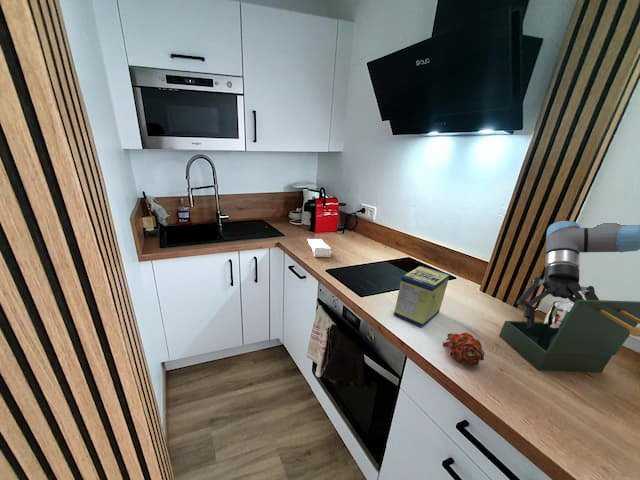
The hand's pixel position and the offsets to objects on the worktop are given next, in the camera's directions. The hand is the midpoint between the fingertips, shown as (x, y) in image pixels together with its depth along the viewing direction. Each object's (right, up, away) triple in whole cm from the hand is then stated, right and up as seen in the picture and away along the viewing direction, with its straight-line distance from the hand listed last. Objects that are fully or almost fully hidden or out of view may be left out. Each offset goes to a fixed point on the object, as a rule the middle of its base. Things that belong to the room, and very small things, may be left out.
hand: (560, 335), depth 80 cm
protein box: (-30, +2, +23) cm, 38 cm away
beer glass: (+1, -6, +5) cm, 7 cm away
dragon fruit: (-27, -7, +2) cm, 28 cm away
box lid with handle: (+1, +4, -8) cm, 9 cm away
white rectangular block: (-57, +30, +85) cm, 107 cm away
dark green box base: (+1, -6, +5) cm, 8 cm away
